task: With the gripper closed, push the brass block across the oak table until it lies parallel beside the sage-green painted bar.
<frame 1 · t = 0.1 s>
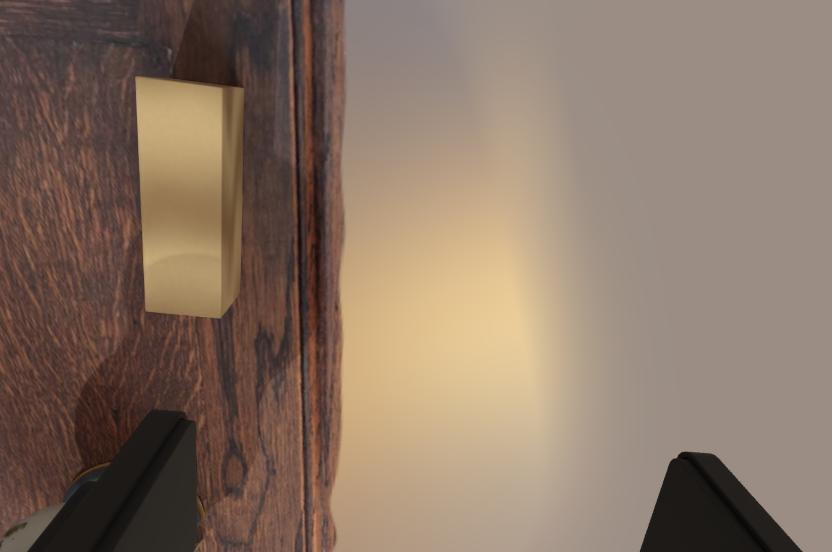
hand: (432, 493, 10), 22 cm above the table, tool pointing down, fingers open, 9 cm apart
brass block: (207, 192, 30), on the table
apothecary jar: (137, 514, 38), on the table
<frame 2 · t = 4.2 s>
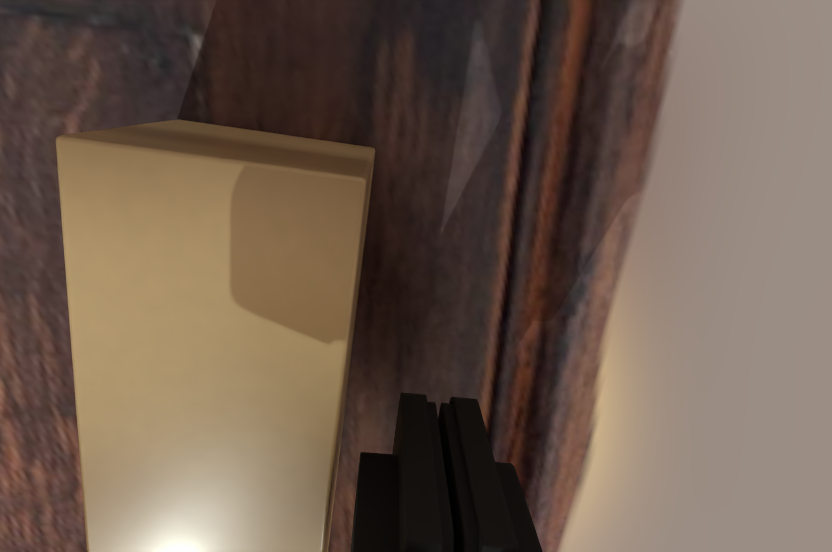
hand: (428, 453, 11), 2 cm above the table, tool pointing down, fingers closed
brass block: (262, 390, 13), on the table, touching gripper
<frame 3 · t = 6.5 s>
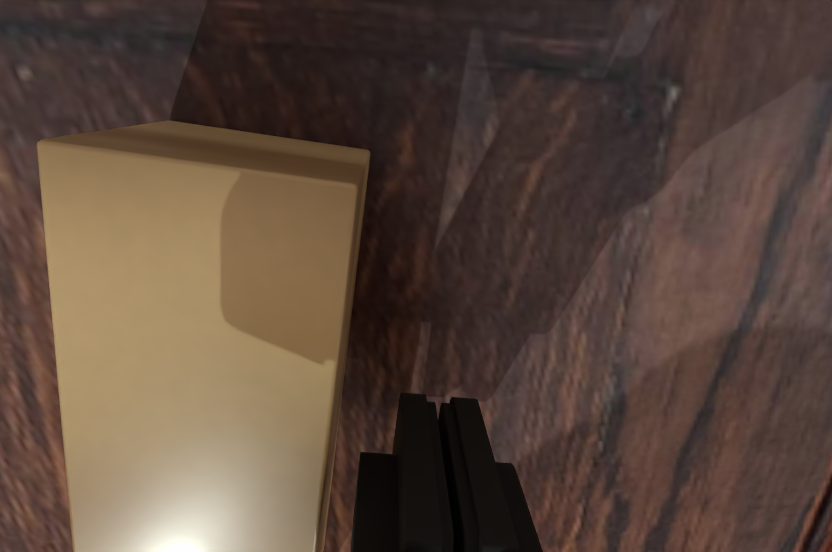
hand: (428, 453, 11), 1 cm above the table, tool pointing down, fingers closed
brass block: (256, 395, 12), on the table, touching gripper
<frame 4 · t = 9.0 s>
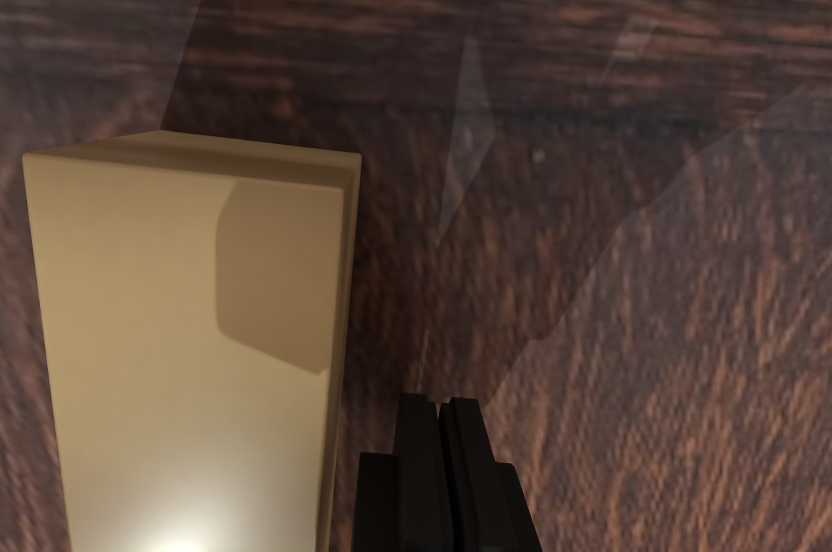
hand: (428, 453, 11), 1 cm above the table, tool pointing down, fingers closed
brass block: (255, 402, 12), on the table, touching gripper
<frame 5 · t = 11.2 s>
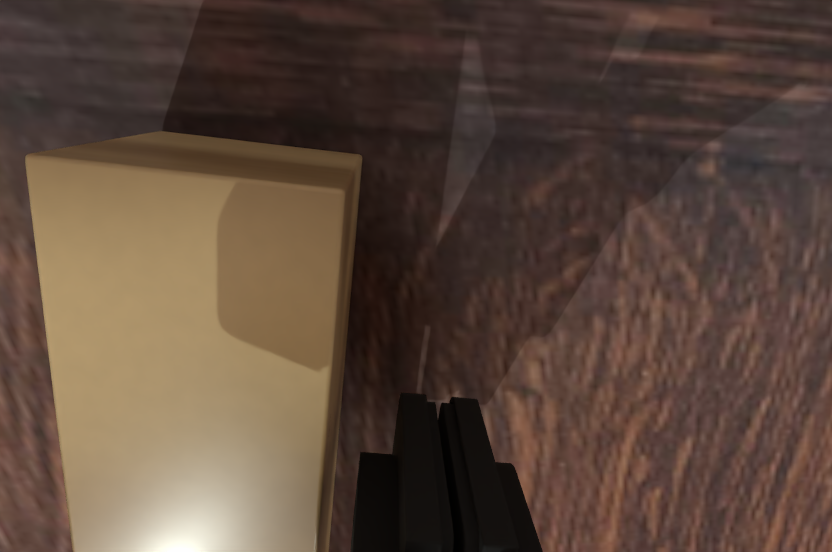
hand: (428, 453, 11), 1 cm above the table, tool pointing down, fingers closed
brass block: (255, 402, 12), on the table, touching gripper
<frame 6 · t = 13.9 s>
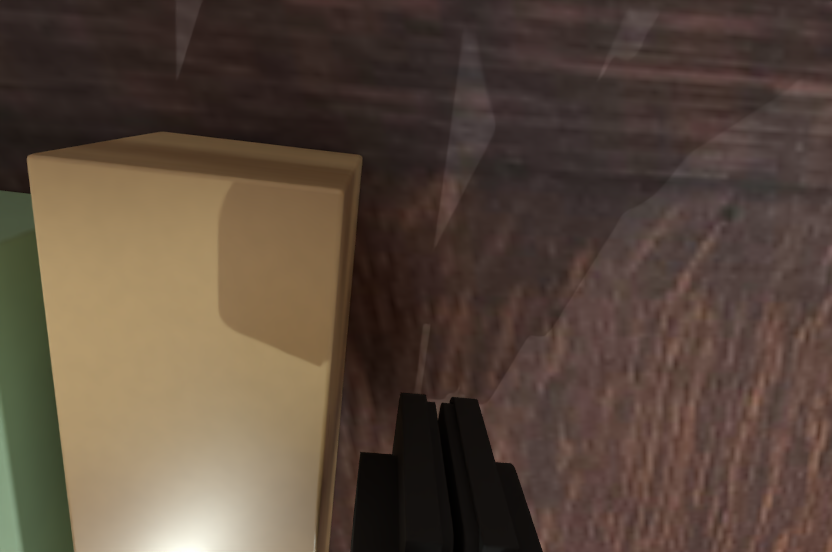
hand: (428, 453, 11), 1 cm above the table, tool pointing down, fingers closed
brass block: (256, 401, 12), on the table, touching gripper
green bar: (53, 506, 13), on the table
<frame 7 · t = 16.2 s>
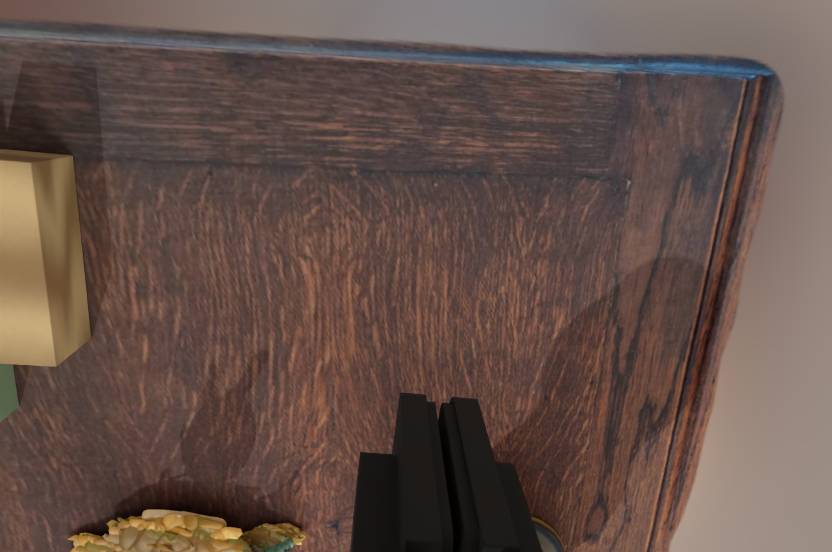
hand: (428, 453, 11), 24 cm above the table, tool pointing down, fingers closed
brass block: (49, 249, 33), on the table
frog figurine: (192, 547, 41), on the table
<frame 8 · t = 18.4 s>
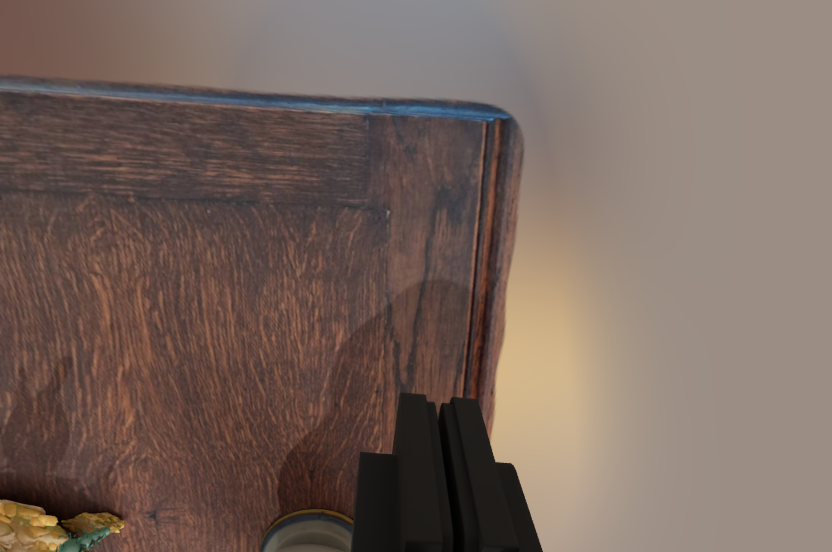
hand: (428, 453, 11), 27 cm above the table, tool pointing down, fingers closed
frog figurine: (23, 532, 45), on the table
apothecary jar: (316, 550, 47), on the table
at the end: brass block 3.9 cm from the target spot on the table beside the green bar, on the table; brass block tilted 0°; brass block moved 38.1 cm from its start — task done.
